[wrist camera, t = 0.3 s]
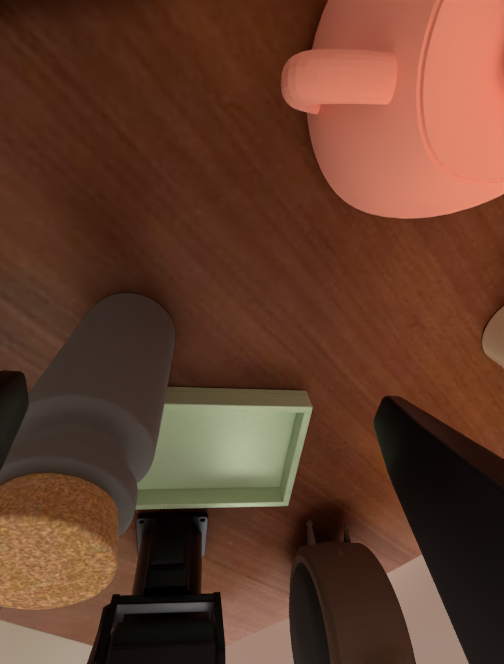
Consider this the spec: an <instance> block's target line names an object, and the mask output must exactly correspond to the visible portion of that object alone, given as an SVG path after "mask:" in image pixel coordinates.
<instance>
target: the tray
mask: <svg viewBox="0 0 504 664" xmlns="http://www.w3.org/2000/svg"><path fill="white" fill-rule="evenodd" d="M312 408H313V406H312V404H311V401H310V399H309V396H308V394H307V391H300V390H265V389H230V388H195V387H167V392H166V398H165V403H164V409H163V415H162V420H161V426H160V431H159V437H158V441H157V446H156V451H155V456H154V460H153V463H152V466H151V468H150V469H149V471H148V473H147V474H146V475H145V476H144V478H143V479H142V480H141V481H140V482H138V483H137V487H138V496H137V503H136V508H135V510H138V509H180V508H222V507H263V506H288V504H289V500H290V496H291V492H292V488H293V484H294V480H295V476H296V472H297V468H298V464H299V460H300V456H301V452H302V448H303V444H304V440H305V436H306V432H307V428H308V424H309V420H310V416H311V412H312Z"/></svg>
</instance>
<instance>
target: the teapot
mask: <svg viewBox="0 0 504 664" xmlns="http://www.w3.org/2000/svg"><path fill="white" fill-rule="evenodd" d="M281 91H282V95H283V98H284V99H285V101H286V102H287V104H289V105H290V106H291V107H292V108H295V109H297V110H300V111H304V112H307V120H308V126H309V133H310V138H311V142H312V146H313V150H314V153H315V156H316V159H317V161H318V164H319V166H320V169H321V171H322V173H323V175H324V176H325V178H326V180H327V182H328V183H329V185H330V186H331V187H332V189H333V190H334V191H335V193H336V194H337V195H338V196H339V197H341V198H342V199H343V200H344V201H345V202H346V203H348V204H350V205H351V206H353V207H354V208H356V209H359V210H361V211H363V212H366V213H369V214H372V215H378V216H383V217H390V218H406V219H410V218H427V217H435V216H441V215H446V214H450V213H454V212H458V211H461V210H465V209H468V208H471V207H475V206H477V205H480V204H482V203H485V202H488V201H490V200H492V199H494V198H497V197H499V196H501V195H503V194H504V0H328V2H327V4H326V6H325V8H324V11H323V13H322V16H321V19H320V22H319V25H318V28H317V31H316V34H315V38H314V43H313V47H312V50H307V51H303V52H300V53H298V54H295V55H293V56H292V57H291V58H290V59H289V60H288V61H287V62H286V64H285V65H284V68H283V71H282V74H281Z"/></svg>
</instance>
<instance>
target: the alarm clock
mask: <svg viewBox="0 0 504 664" xmlns="http://www.w3.org/2000/svg"><path fill="white" fill-rule="evenodd" d="M312 524H313V523H312V521H311V520H307V521H306V525H307V526H308V530H307V545H306V546H302V547H300V548H299V550H298V551H297V553H296V557H295V560H294V562H293V565H292V570H291V578H290V597H289V619H290V635H291V645H292V652H293V659H294V664H416V662H415V657H414V653H413V648H412V644H411V640H410V636H409V633H408V629H407V626H406V622H405V619H404V616H403V613H402V610H401V607H400V604H399V602H398V599H397V597H396V594H395V592H394V589H393V587H392V585H391V583H390V581H389V579H388V576H387V574H386V573H385V571H384V569H383V567H382V566H381V564H380V562H379V561H378V559H377V558H376V557H375V555H374V554H373V553H372V552H371V551H370V550H369V549H368V548H367V547H366V546H364V545H363V544H361V543H351V541H350V536H349V531H348V530H349V526H348V525H347V524H345V525H344V526H343V529H344V542H338V541H332V542H323V543H318V544H316V541H315V537H314V533H313V529H312Z"/></svg>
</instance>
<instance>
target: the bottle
mask: <svg viewBox="0 0 504 664" xmlns="http://www.w3.org/2000/svg"><path fill="white" fill-rule="evenodd" d="M174 343H175V328H174V325H173V322H172V320H171V318H170V316H169V314H168V313H167V312H166V311H165V309H164V308H163V307H162V306H160V305H159V304H158V303H157V302H155V301H153V300H151V299H150V298H147V297H145V296H142V295H138V294H133V293H120V294H114V295H111V296H108V297H106V298H104V299H102V300H101V301H99V302H98V303H97V304H96V305H95V306H94V307H93V308H92V309H91V310H90V311H89V313H88V314H87V315H86V317H85V318H84V319H83V320H82V322H81V323H80V324H79V326H78V327H77V328H76V330H75V331H74V332H73V334H72V335H71V336H70V338H69V339H68V340H67V342H66V343H65V345H64V346H63V347H62V349H61V350H60V351H59V353H58V354H57V355H56V357H55V358H54V359H53V361H52V362H51V364H50V365H49V366H48V368H47V369H46V370H45V372H44V373H43V374H42V376H41V377H40V378H39V380H38V381H37V383H36V384H35V385H34V387H33V388H32V389H31V391H30V392H29V394H28V398H29V405H28V410H27V412H26V415H25V417H24V419H23V421H22V424H21V426H20V428H19V431H18V433H17V435H16V437H15V440H14V442H13V444H12V446H11V449H10V451H9V453H8V456H7V458H6V460H5V462H4V464H3V467H2V469H1V471H0V606H4V607H10V608H18V609H37V610H39V609H51V608H60V607H64V606H68V605H73V604H76V603H79V602H82V601H85V600H87V599H89V598H91V597H93V596H95V595H96V594H98V593H100V592H101V591H102V590H104V589H105V588H106V587H107V586H108V585H109V583H110V582H111V581H112V579H113V578H114V575H115V573H116V570H117V564H118V538H119V537H120V536H122V534H123V533H124V532H125V531H126V530H127V529H128V527H129V525H130V523H131V522H132V520H133V516H134V513H135V508H136V503H137V496H138V487H137V483H138V482H140V481H141V480H142V479H143V478H144V476H145V475H146V474H147V473H148V471H149V469H150V468H151V466H152V463H153V460H154V456H155V451H156V446H157V441H158V437H159V431H160V426H161V420H162V415H163V409H164V403H165V398H166V392H167V386H168V380H169V374H170V369H171V363H172V357H173V351H174Z"/></svg>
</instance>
